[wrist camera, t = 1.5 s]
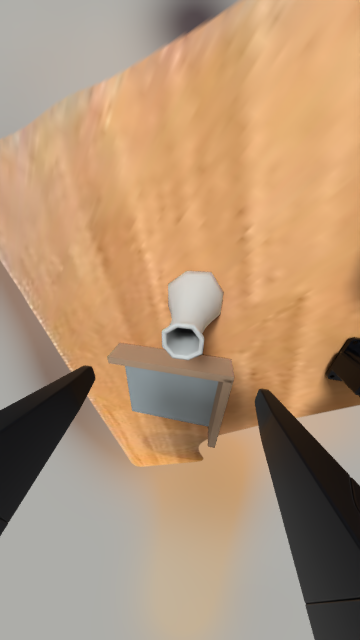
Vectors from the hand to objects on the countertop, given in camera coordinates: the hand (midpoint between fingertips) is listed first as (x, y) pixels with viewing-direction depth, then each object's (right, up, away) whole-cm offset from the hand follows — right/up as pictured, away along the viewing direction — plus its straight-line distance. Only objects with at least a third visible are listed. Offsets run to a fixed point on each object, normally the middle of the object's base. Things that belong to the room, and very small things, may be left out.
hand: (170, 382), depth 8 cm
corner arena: (-1, -10, +20) cm, 22 cm away
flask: (+2, +6, +12) cm, 14 cm away
